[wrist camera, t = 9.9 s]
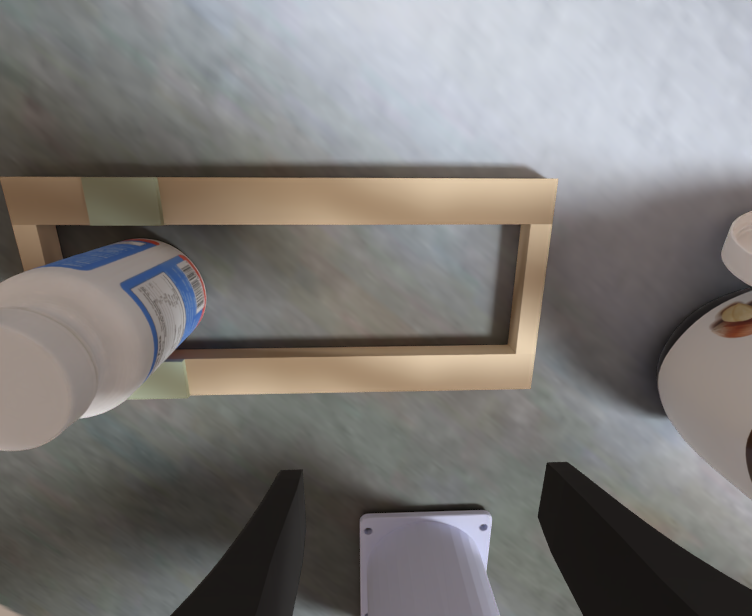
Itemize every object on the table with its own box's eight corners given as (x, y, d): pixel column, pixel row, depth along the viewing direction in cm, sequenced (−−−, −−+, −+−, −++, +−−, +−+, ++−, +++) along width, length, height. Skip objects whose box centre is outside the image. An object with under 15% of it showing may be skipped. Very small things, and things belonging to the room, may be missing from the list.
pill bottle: (80, 310, 21) (-143, 421, 11) (120, 215, 19) (-97, 253, 10) (185, 360, 22) (58, 498, 13) (229, 273, 20) (123, 355, 11)
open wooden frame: (521, 378, 23) (532, 391, 22) (72, 386, 22) (53, 400, 20) (546, 178, 20) (561, 178, 18) (21, 176, 19) (-7, 176, 17)
